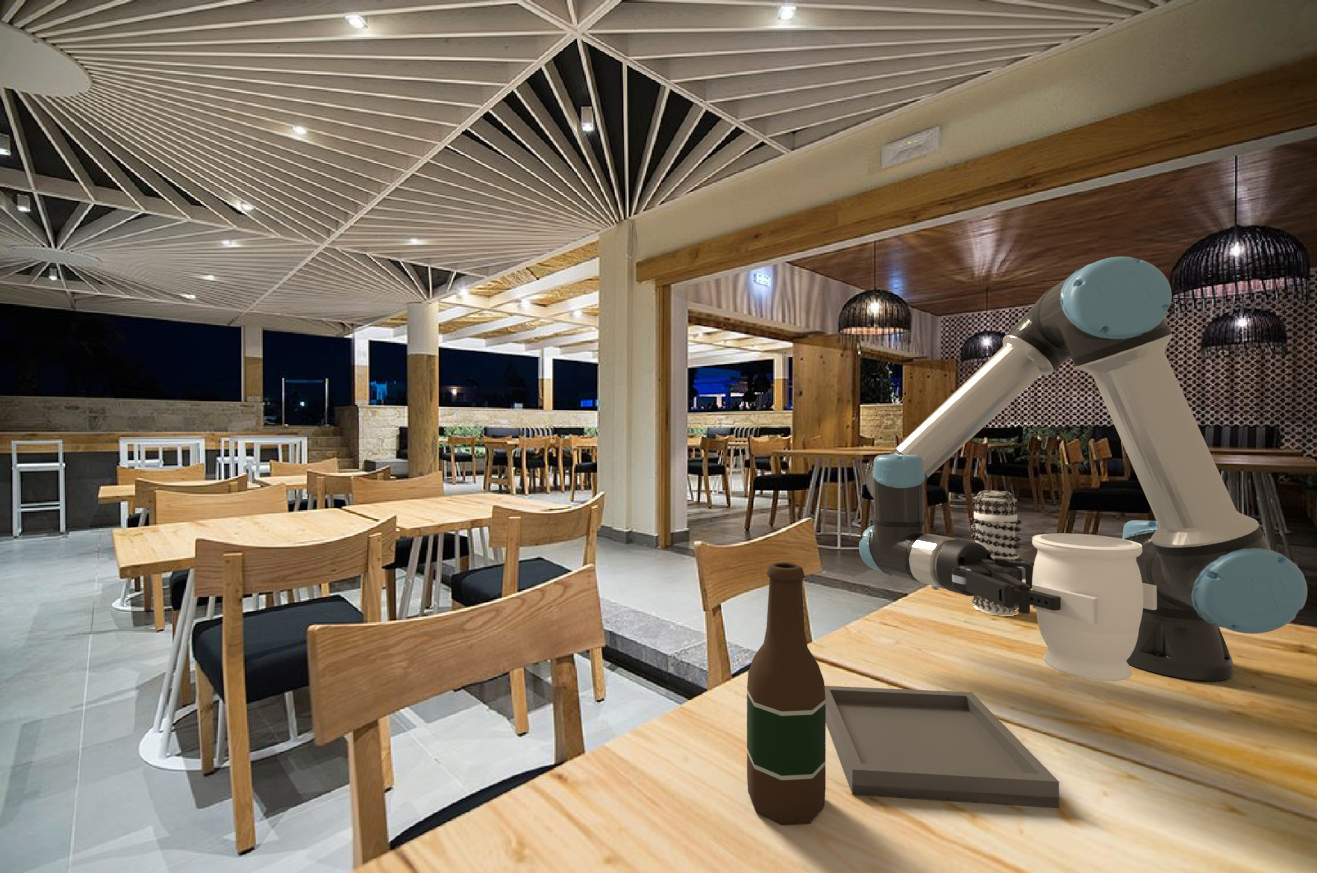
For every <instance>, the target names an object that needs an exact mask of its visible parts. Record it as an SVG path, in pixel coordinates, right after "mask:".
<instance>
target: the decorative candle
mask: <svg viewBox="0 0 1317 873" xmlns="http://www.w3.org/2000/svg"><path fill="white" fill-rule="evenodd" d="M973 499H974V500H975V502H974V509H975V510H974V511H973V516H972V517H970V521H971V522H973V524H971V525H970V529H971V531H972V532H971V533H970V536H971V538H973V539H974V540H973V541H972V542H976V543H979V544H981V545H983V546H984V547H985V548H986V549H987V550H988V552H989V554H990V556H991V557H992V559H993V560H994V558H1006V559H1009V560H1010V561H1015V559H1018V558H1019V557H1020V555H1019V554H1018V553H1017V552H1016V550H1019V549H1020V548H1021V546H1020V545H1019V544H1018V542H1020V541H1021V538H1020V537H1019V536H1017V535H1016V534H1017V533H1019V532H1021V531H1022V528H1020V526H1019V525H1021V524H1022V521H1021V520H1020V519H1018V514H1017V501H1018V499H1016V498H1015V497H1014V496H1013V494H1012V493H1011V492H1009V491H1004V490H1003V491H1001V490H981V491H979V492H978V493H977V495H976V496H973ZM971 602H972V603H973V604H972V605H975V606H973V607H974V608H975V609H976V610H981V611H982V612H985V613H990V614H996V615H1013V614H1016V613H1017V612H1018V613H1019V610H1017V609H1019V608H1018V605H1016V604H1015V603H1014V608H1006V607H1004V606H1001V605H999V604H996V603H994V602H991V601H989V600H987V599H984V598H982V597H979V596H977V595H976V596H972V598H971ZM1015 610H1017V611H1015Z"/></svg>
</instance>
